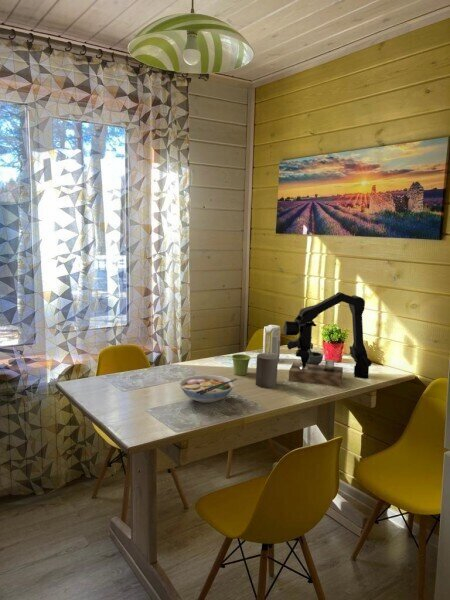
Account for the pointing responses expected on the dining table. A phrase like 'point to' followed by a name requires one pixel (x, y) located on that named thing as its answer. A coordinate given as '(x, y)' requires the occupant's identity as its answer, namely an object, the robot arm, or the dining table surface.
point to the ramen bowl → (206, 387)
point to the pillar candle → (266, 370)
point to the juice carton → (271, 340)
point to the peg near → (329, 365)
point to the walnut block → (315, 374)
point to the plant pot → (240, 363)
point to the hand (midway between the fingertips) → (303, 366)
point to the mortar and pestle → (315, 358)
